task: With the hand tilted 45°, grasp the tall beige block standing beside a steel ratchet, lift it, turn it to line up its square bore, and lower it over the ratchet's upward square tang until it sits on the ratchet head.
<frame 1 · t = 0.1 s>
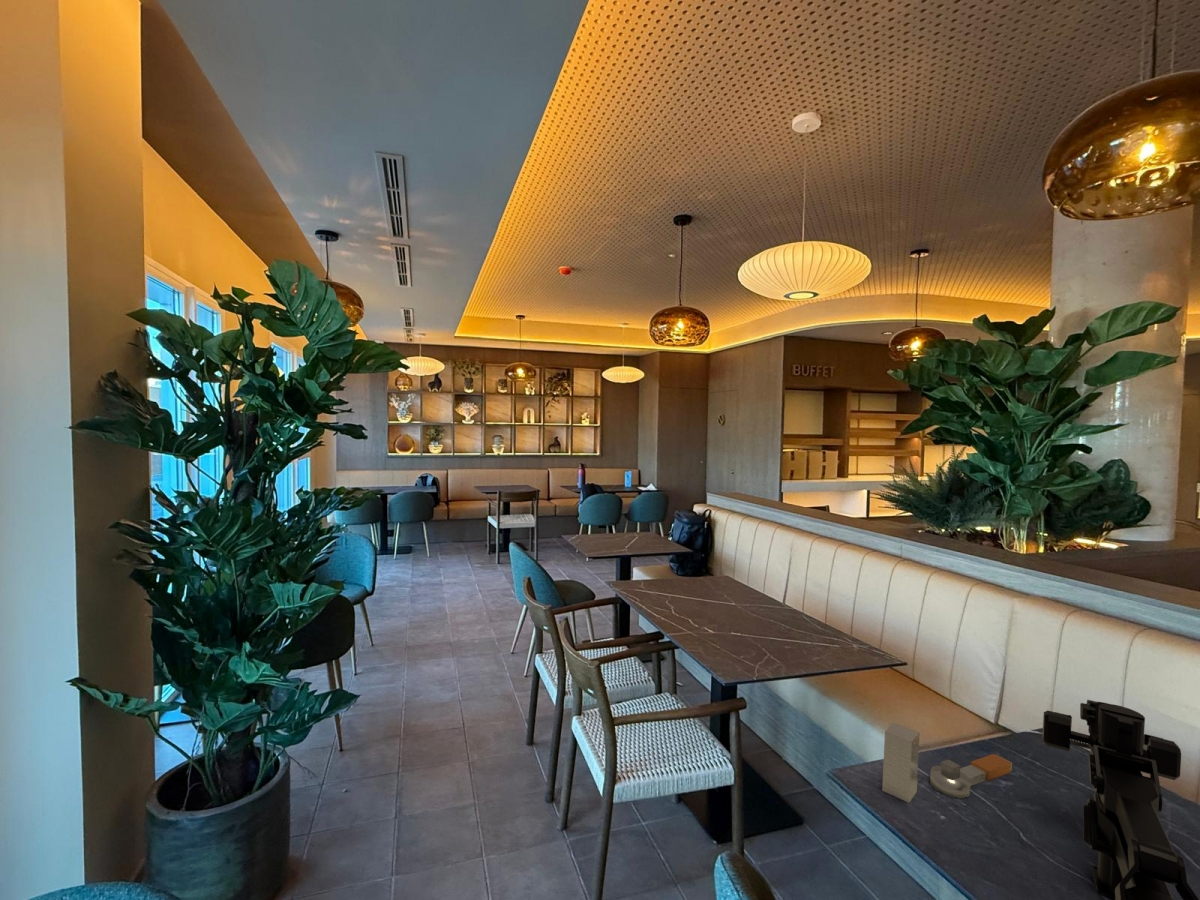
hand: (1099, 725, 109), 17 cm above the table, tool horizontal, fingers open, 9 cm apart
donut: (1112, 801, 111), on the table
tall beige block: (899, 791, 112), on the table
ratchet: (949, 787, 114), on the table
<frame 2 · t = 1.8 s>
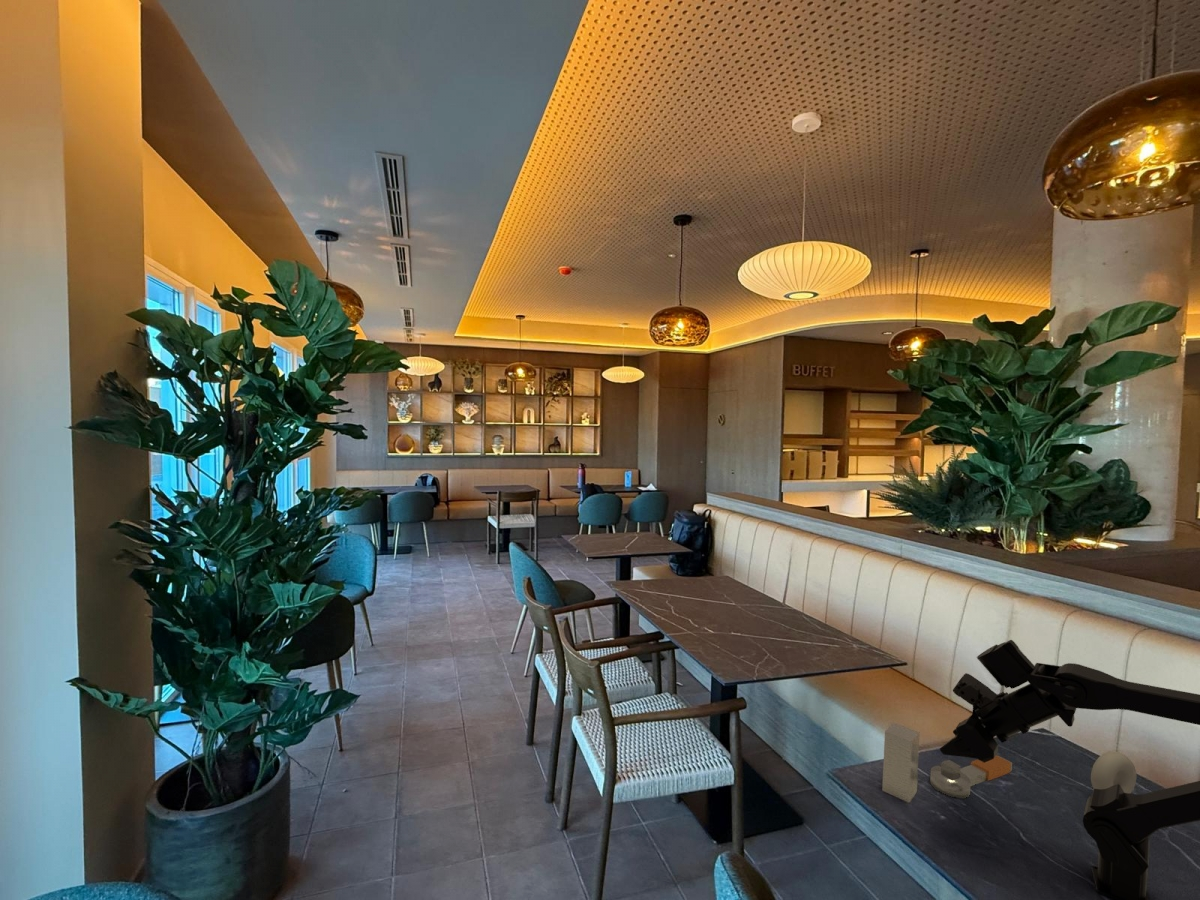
hand: (948, 742, 106), 14 cm above the table, tool tilted 45°, fingers open, 9 cm apart
nothing on the table moved.
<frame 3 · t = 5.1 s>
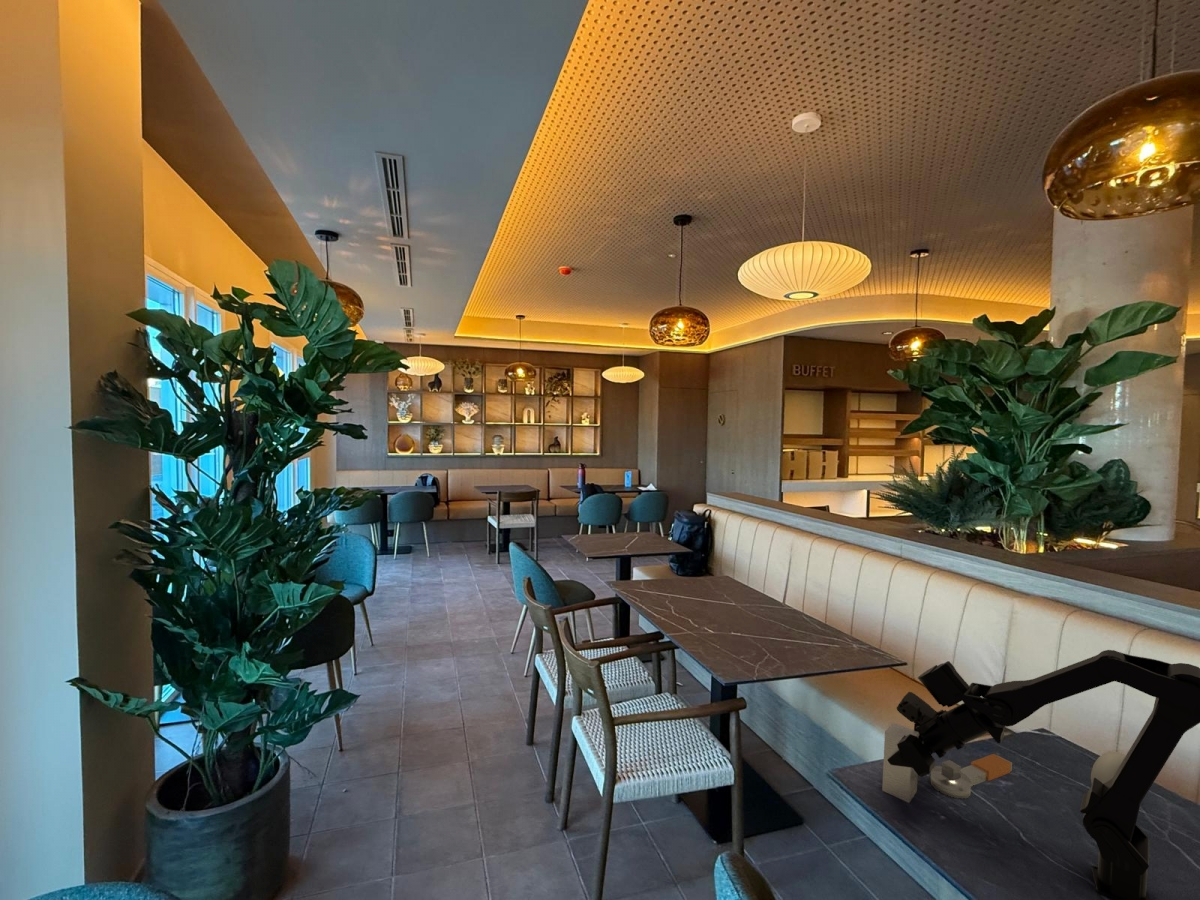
hand: (893, 756, 113), 7 cm above the table, tool tilted 45°, fingers closed on tall beige block, 5 cm apart
tall beige block: (899, 791, 112), on the table, touching gripper
everything else where it was.
when the fingers open (10 cm above the table, at t = 8.9 s): tall beige block stays where it is, resting on ratchet.
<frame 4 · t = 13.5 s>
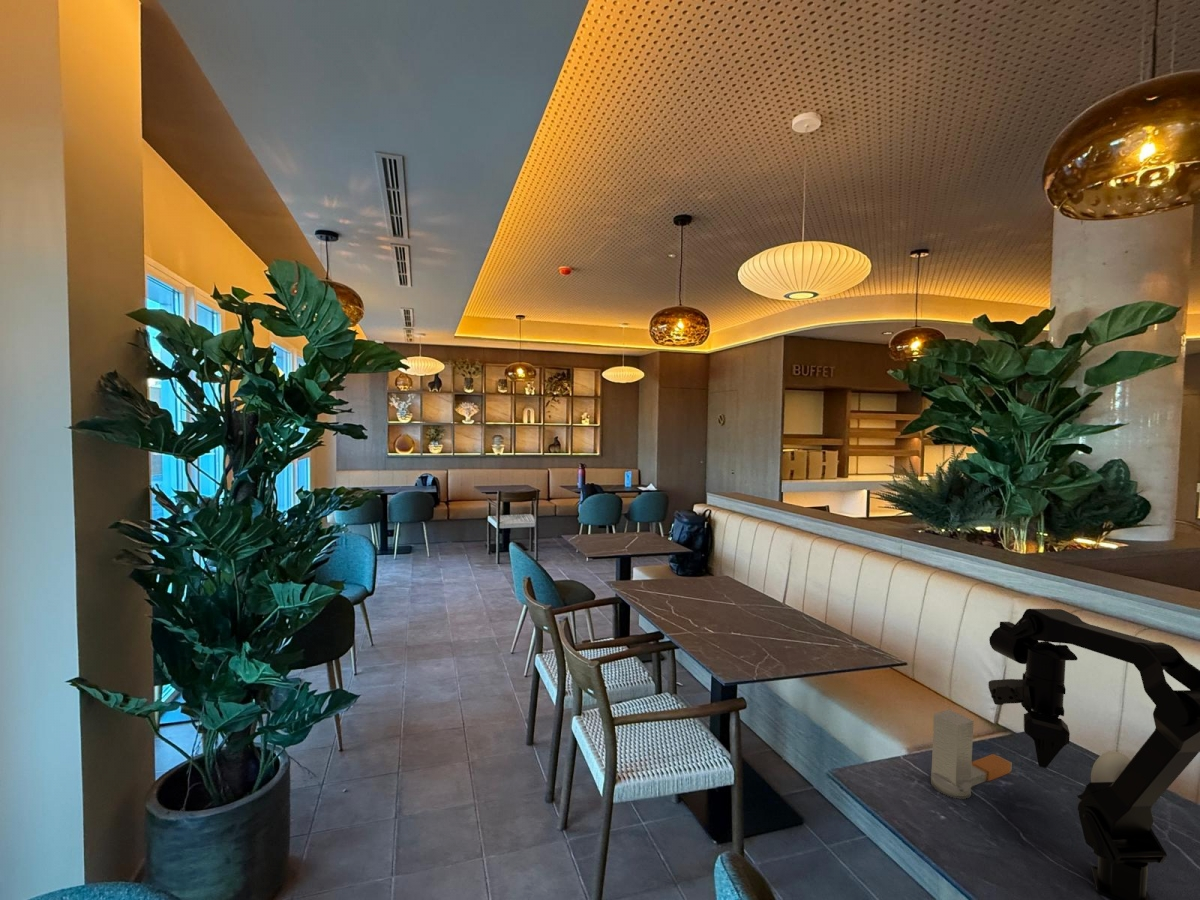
hand: (1040, 755, 104), 13 cm above the table, tool pointing down, fingers open, 9 cm apart
tall beige block: (950, 776, 114), point 2 cm above the table, touching ratchet
ratchet: (950, 788, 114), on the table, touching tall beige block
everything else where it was.
at the end: tall beige block 0.0 cm off-centre on the ratchet, point 2.5 cm above the ratchet's base; tall beige block tilted 1°; the gripper is holding nothing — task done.
